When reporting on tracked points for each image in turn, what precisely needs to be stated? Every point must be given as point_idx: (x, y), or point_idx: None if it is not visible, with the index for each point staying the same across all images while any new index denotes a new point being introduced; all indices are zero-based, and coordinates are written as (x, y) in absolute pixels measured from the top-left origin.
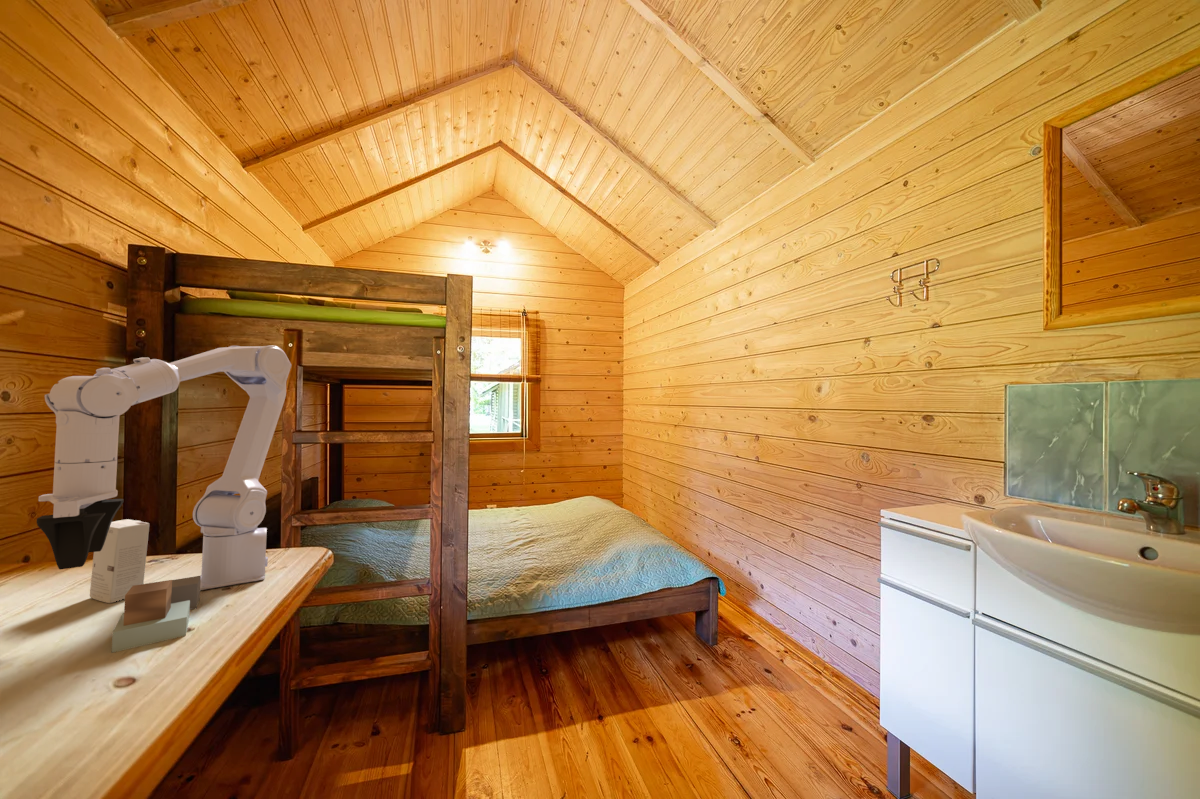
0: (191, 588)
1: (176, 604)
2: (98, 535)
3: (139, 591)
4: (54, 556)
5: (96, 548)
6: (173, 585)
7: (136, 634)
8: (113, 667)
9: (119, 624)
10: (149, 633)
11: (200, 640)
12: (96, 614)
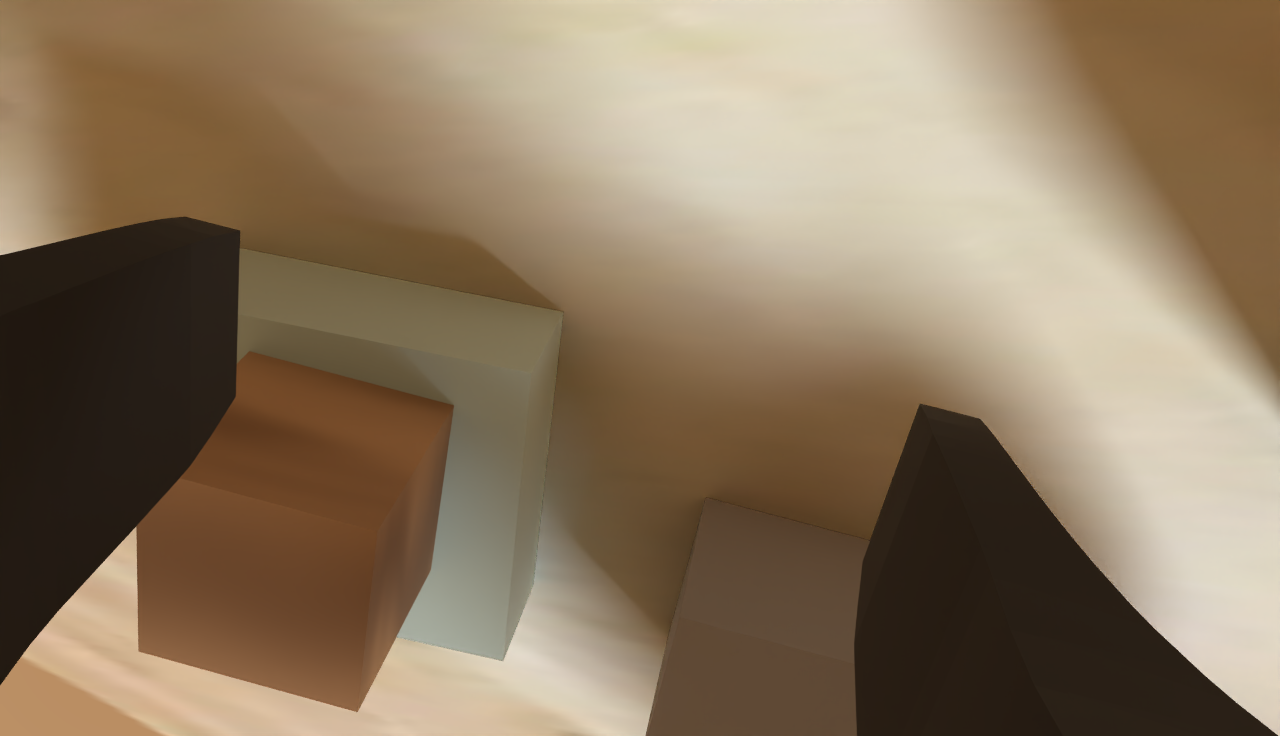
0: (650, 719)
1: (465, 599)
2: (876, 700)
3: (177, 538)
4: (57, 242)
5: (869, 560)
6: (712, 674)
7: None
8: (14, 238)
9: (291, 337)
10: None
11: (130, 549)
12: (1105, 224)
